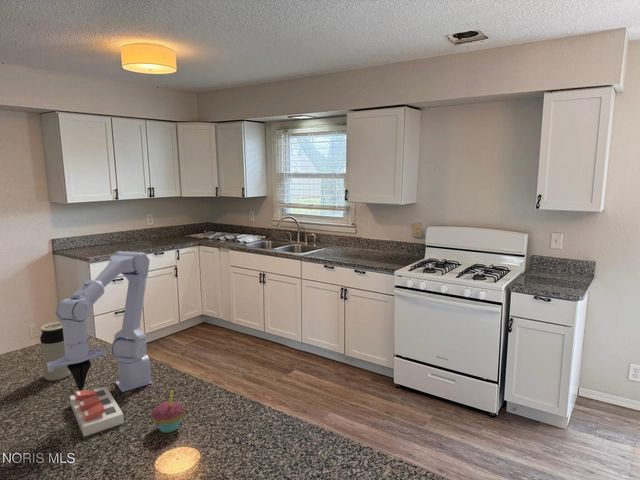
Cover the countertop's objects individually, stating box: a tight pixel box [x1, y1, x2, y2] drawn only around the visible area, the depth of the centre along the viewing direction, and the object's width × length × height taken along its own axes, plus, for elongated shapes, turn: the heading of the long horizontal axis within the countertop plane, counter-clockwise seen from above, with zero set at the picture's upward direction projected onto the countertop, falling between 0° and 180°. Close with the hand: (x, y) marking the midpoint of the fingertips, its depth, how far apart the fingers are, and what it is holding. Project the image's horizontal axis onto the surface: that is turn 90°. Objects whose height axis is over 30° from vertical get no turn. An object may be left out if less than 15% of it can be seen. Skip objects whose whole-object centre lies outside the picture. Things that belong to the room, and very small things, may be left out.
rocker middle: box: [78, 395, 100, 411], centre depth 123 cm, size 5×4×1 cm
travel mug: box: [39, 321, 72, 381], centre depth 146 cm, size 8×8×18 cm
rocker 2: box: [82, 403, 105, 421], centre depth 118 cm, size 5×4×1 cm
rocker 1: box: [73, 388, 96, 400], centre depth 128 cm, size 5×4×1 cm
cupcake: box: [150, 388, 185, 434], centre depth 117 cm, size 9×8×12 cm
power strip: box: [69, 384, 125, 437], centre depth 128 cm, size 10×30×3 cm, turn 39°
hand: (80, 386), depth 121 cm, fingers closed
